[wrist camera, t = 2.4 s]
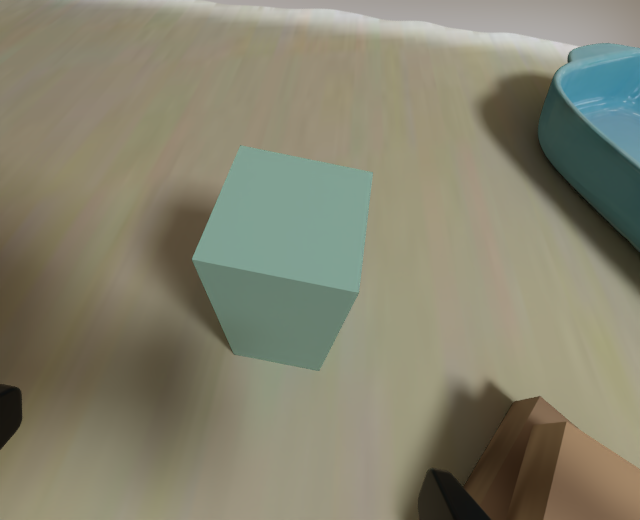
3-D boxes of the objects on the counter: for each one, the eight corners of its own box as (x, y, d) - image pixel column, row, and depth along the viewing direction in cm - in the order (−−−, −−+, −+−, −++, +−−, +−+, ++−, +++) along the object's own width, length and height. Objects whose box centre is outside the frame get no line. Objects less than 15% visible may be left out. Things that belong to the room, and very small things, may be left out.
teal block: (319, 371, 21) (358, 293, 11) (233, 354, 21) (191, 259, 11) (331, 293, 24) (372, 172, 14) (256, 278, 24) (240, 145, 13)
